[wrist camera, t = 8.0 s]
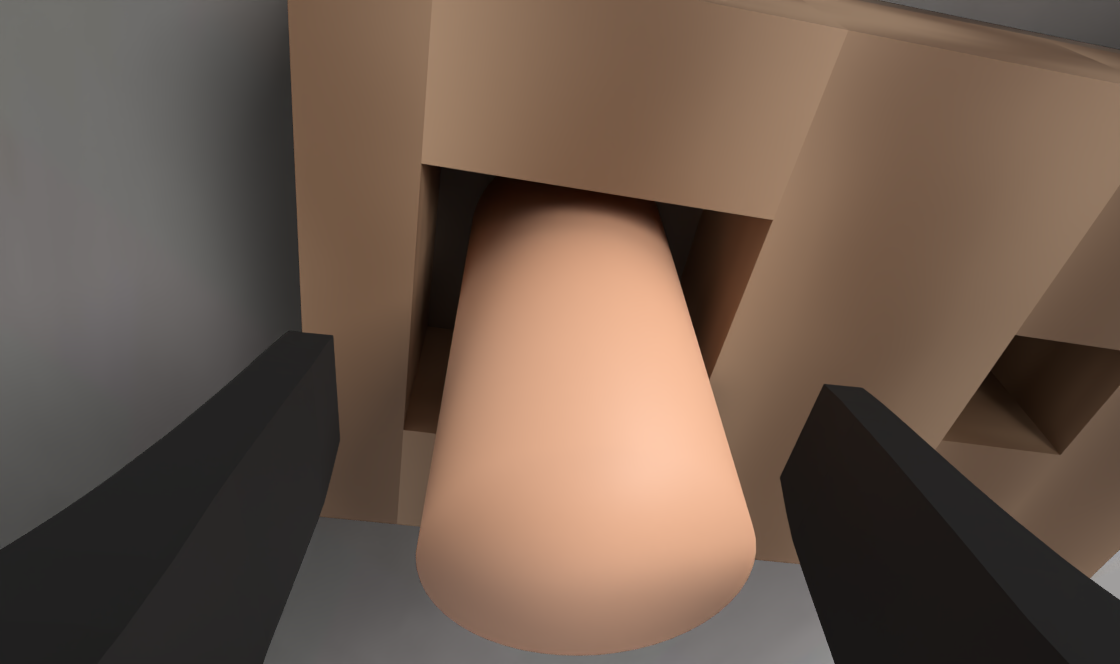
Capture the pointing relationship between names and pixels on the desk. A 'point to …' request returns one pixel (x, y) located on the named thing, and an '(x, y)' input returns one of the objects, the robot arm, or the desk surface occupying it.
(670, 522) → the pin
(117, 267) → the desk surface
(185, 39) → the desk surface
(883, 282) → the socket block
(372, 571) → the desk surface
